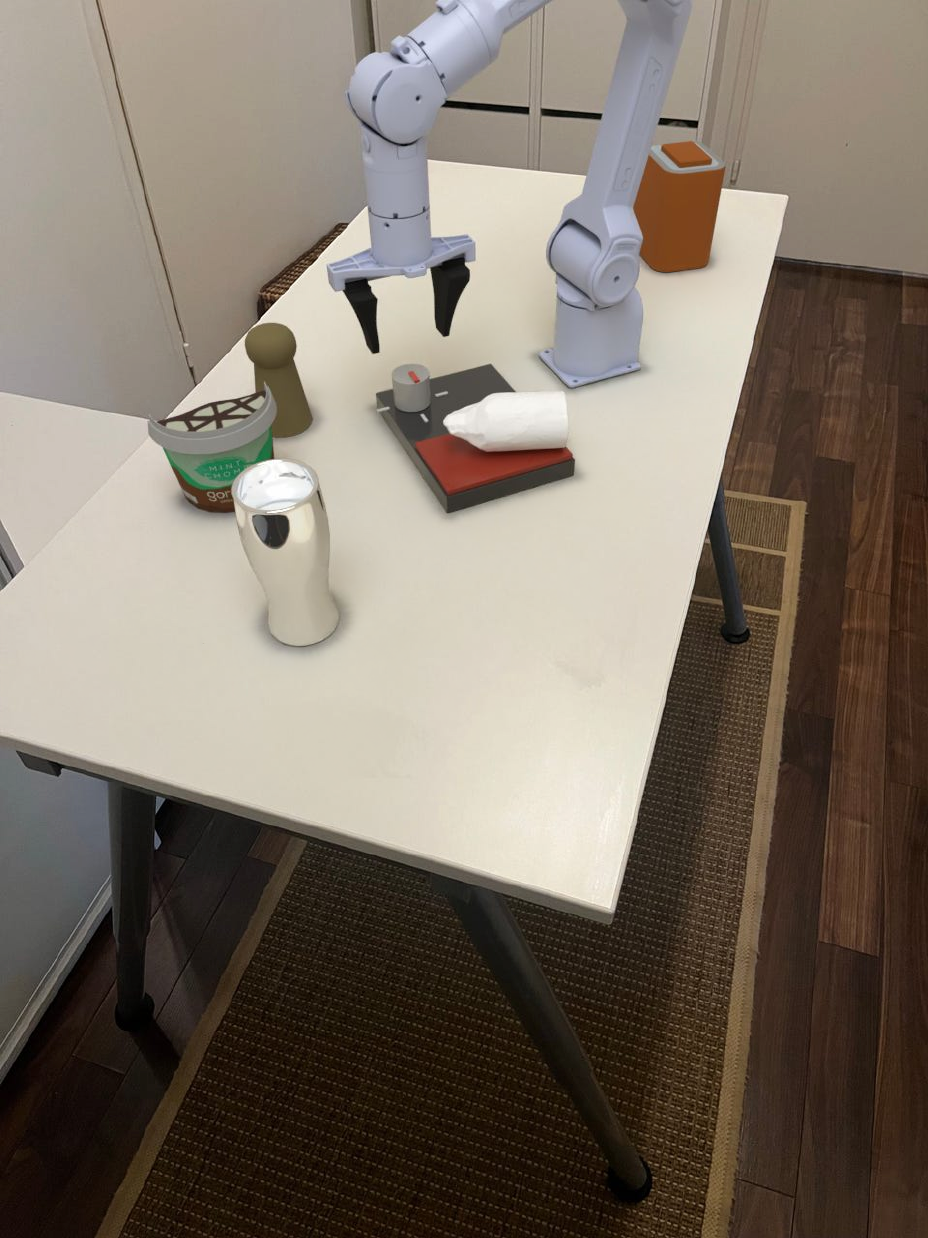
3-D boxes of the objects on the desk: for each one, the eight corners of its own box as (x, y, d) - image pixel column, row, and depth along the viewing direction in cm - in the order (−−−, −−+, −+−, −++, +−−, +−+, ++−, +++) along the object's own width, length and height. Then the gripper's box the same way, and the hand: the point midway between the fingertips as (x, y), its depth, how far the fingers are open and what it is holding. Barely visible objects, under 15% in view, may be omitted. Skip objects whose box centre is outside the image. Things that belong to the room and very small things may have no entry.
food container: (186, 536, 89) (159, 450, 81) (169, 500, 92) (142, 415, 85) (307, 496, 92) (291, 411, 85) (286, 463, 96) (269, 379, 89)
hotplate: (534, 414, 98) (534, 409, 98) (572, 459, 92) (573, 454, 92) (414, 447, 94) (414, 442, 94) (447, 495, 89) (447, 490, 88)
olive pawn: (302, 440, 99) (286, 347, 91) (249, 434, 100) (228, 342, 92) (319, 408, 103) (305, 317, 95) (268, 403, 104) (250, 312, 96)
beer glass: (310, 662, 77) (280, 525, 66) (247, 631, 80) (208, 494, 69) (360, 610, 81) (339, 474, 70) (298, 582, 84) (269, 446, 73)
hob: (488, 375, 107) (488, 359, 105) (574, 475, 94) (575, 458, 92) (365, 407, 103) (363, 391, 101) (437, 516, 90) (436, 499, 88)
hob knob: (388, 397, 101) (385, 366, 98) (422, 388, 102) (420, 357, 99) (401, 416, 98) (399, 384, 95) (436, 406, 99) (435, 375, 96)
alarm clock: (715, 266, 124) (734, 161, 115) (655, 274, 123) (670, 168, 113) (673, 221, 134) (687, 120, 125) (617, 227, 133) (627, 126, 123)
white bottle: (442, 431, 95) (440, 383, 91) (558, 424, 96) (561, 376, 91) (445, 466, 91) (443, 418, 87) (566, 459, 91) (570, 411, 87)
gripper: (337, 238, 80) (353, 376, 90) (488, 207, 84) (488, 342, 94) (312, 208, 85) (331, 342, 95) (457, 179, 89) (461, 311, 98)
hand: (408, 340), depth 95 cm, fingers open, 7 cm apart
